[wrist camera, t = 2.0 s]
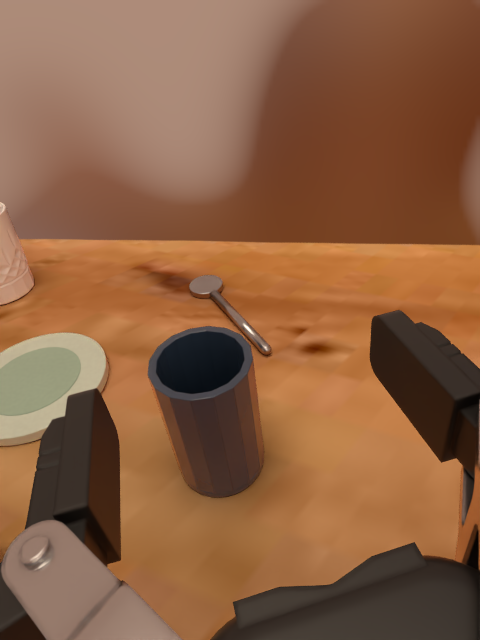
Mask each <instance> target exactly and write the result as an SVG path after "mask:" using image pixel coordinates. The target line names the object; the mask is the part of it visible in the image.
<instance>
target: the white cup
mask: <svg viewBox="0 0 480 640" xmlns="http://www.w3.org/2000/svg"><path fill="white" fill-rule="evenodd" d="M33 286H34V278H33V275H32V273H31V271H30V268H29V266H28V262H27V259H26V256H25V254H24V251H23V248H22V246H21V243H20V241H19V238H18V236H17V233H16V231H15V229H14V226H13V224H12V221H11V219H10V217H9V214H8V211H7V209H6V207H5V205H4V204H3V203H1V202H0V305H2V304H7V303H9V302H12V301H14V300H17V299H19V298H21V297H22V296H24V295H25V294H27V293H28V292H29V291H30V290H31V288H32V287H33Z"/></svg>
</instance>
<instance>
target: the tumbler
mask: <svg viewBox="0 0 480 640" xmlns="http://www.w3.org/2000/svg"><path fill="white" fill-rule="evenodd" d="M148 378H149V381H150V384H151V387H152V390H153V393H154V396H155V398H156V401H157V404H158V407H159V410H160V413H161V416H162V419H163V422H164V425H165V428H166V431H167V434H168V437H169V440H170V443H171V446H172V449H173V452H174V455H175V458H176V461H177V464H178V467H179V469H180V471H181V474H182V476H183V478H184V480H185V482H186V483H187V484H188V485H189V486H190V487H191V488H192V489H193V490H195V491H196V492H198V493H200V494H202V495H205V496H209V497H227V496H231V495H234V494H237V493H239V492H241V491H243V490H244V489H246V488H247V487H248V486H250V485H251V484H252V483H253V482H254V481H255V480H256V478H257V477H258V475H259V473H260V472H261V469H262V467H263V462H264V446H263V438H262V430H261V421H260V413H259V405H258V396H257V388H256V379H255V371H254V363H253V356H252V351H251V346H250V345H249V343H248V342H247V341H246V340H245V339H244V338H243V337H242V336H241V335H240V334H238V333H236V332H234V331H231V330H229V329H227V328H221V327H212V326H205V327H198V328H192V329H188V330H185V331H183V332H180V333H178V334H175V335H173V336H171V337H170V338H169V339H167V340H166V341H165V342H163V343H162V344H161V345H160V346H158V347H157V349H156V350H155V352H154V354H153V355H152V357H151V358H150V360H149V366H148Z"/></svg>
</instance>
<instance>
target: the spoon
mask: <svg viewBox="0 0 480 640" xmlns="http://www.w3.org/2000/svg"><path fill="white" fill-rule="evenodd" d="M189 288H190V293H191V294H192V295H193V296H194V297H197V298H212V299H213V300H214V301H215V302H216V303H217V304H218V306H219V307H220V308H221V309H222V310H223V311H224V312H225V313H226V314H227V315H228V316H229V318H230V319H231V320H232V321H233V322H234V323H235V324H236V325H237V326H238V327H239V329H240V330H241V331H242V332H243V333H244V334H245V335H246V336H247V337H248V338H249V339H250V341H251V342H252V343H253V344H254V345H255V346H256V347H257V348H258V349H259V350H260V352H261V353H262V354H264V355H268V354H270V353H271V346H270V345H269V344H268V343H267V342H266V341H265V340H264V339H263V338H262V337H261V336H260V335H259V334H258V333H257V332H256V331H255V330H254V329H253V328H252V326H251V325H250V324H249V323H248V322H247V321H246V320H245V319H244V318H243V317H242V316H241V315H240V314H239V313H238V312H237V311H236V310H235V309H234V308H233V307H232V306H231V305H230V303H229V302H228V301H227V300H226V299H225V298H224V297H223V296H222V295H221V294H220V292H221V291H222V289H223V282H222V280H221V278H219V277H217V276H214V275H204V276H200V277H198V278H196V279H194V280H193V281H192V282H191V283H190V285H189Z"/></svg>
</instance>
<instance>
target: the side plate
mask: <svg viewBox="0 0 480 640" xmlns="http://www.w3.org/2000/svg"><path fill="white" fill-rule="evenodd" d="M108 373H109V365H108V360H107V357H106V355H105V352H104V350H103V349H102V347H101V346H100V345H99V344H98V343H97V342H96V341H95V340H93V339H92V338H89V337H87V336H84V335H81V334H76V333H53V334H47V335H42V336H38V337H34V338H31V339H28V340H25V341H23V342H20V343H18V344H16V345H14V346H12V347H10V348H8V349H6V350H4V351H2V352H1V353H0V446H12V445H20V444H25V443H29V442H32V441H36V440H39V439H41V438H42V435H43V434H44V432H45V430H46V429H47V427H48V426H49V424H50V422H51V421H52V419H56V418H59V417H63V416H65V411H66V403H67V398H68V396H69V395H72V394H75V393H79V392H83V391H87V390H91V389H94V388H97V389H98V390H99V391H100V393H101V392H102V391H103V389H104V386H105V384H106V382H107V378H108Z"/></svg>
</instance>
